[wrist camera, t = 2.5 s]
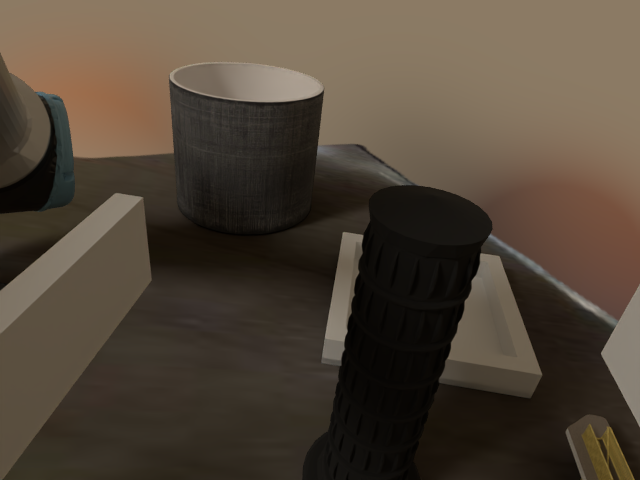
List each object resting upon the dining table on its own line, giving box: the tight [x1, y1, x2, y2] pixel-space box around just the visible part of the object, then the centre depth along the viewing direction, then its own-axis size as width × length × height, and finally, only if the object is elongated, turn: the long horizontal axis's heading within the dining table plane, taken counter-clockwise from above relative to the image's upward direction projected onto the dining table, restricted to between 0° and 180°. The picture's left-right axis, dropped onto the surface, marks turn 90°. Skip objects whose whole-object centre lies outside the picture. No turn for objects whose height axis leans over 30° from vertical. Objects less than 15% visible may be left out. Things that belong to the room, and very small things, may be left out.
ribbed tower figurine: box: [303, 185, 492, 480], centre depth 33 cm, size 10×26×10 cm
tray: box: [321, 232, 542, 399], centre depth 58 cm, size 22×22×4 cm
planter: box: [169, 62, 324, 234], centre depth 74 cm, size 22×22×20 cm
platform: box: [566, 414, 635, 480], centre depth 39 cm, size 12×18×6 cm, turn 172°
